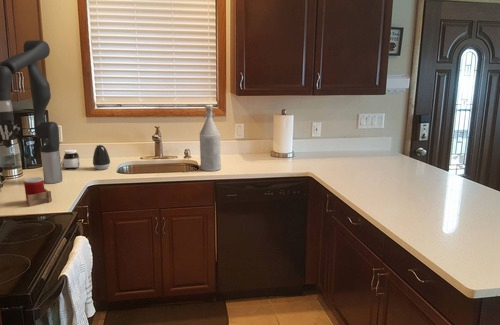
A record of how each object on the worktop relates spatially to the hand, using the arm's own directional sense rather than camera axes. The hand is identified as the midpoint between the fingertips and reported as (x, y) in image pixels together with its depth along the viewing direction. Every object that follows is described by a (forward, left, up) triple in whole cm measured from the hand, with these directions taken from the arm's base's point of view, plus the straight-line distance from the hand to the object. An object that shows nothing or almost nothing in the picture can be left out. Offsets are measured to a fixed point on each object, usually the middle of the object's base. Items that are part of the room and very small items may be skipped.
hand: (8, 147), depth 194 cm
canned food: (+6, +14, -25) cm, 29 cm away
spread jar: (-62, -1, -25) cm, 67 cm away
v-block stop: (+6, +17, -25) cm, 31 cm away
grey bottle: (-62, +88, -25) cm, 110 cm away
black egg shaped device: (-60, +20, -25) cm, 68 cm away
